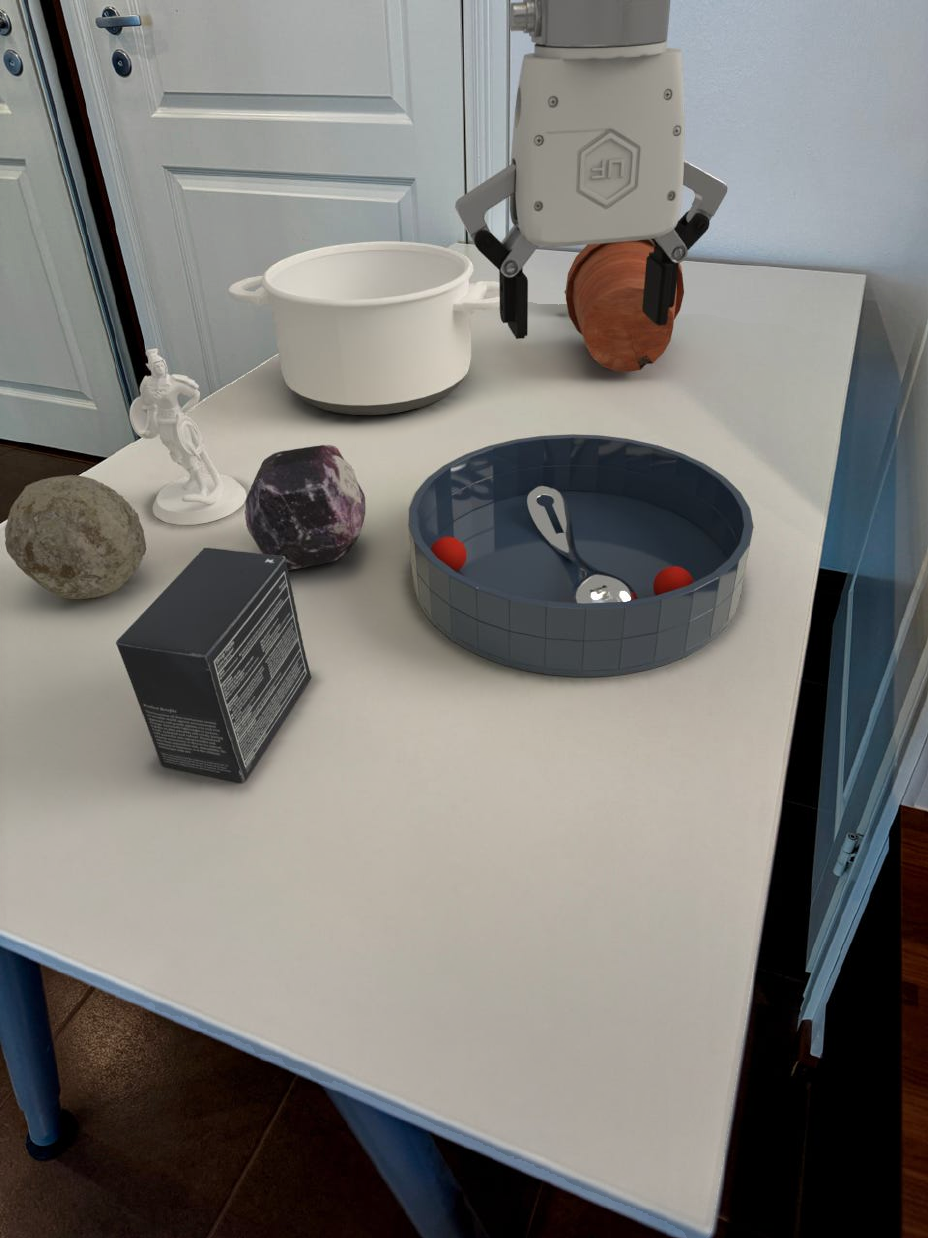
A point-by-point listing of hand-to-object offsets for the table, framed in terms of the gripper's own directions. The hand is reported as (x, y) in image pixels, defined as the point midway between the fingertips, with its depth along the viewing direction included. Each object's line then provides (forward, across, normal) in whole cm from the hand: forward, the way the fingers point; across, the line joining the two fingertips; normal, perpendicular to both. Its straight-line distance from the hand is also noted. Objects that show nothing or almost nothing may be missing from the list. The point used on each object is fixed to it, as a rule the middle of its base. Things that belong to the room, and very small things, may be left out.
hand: (586, 325), depth 60 cm
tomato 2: (+18, +6, -6) cm, 20 cm away
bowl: (+20, 0, 0) cm, 20 cm away
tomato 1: (+18, -10, +2) cm, 21 cm away
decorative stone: (+20, -39, +6) cm, 45 cm away
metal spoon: (+20, 0, 0) cm, 20 cm away
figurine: (+20, -32, +19) cm, 42 cm away
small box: (+20, -27, -12) cm, 36 cm away
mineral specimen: (+20, -21, +8) cm, 30 cm away
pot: (+20, -12, +43) cm, 49 cm away
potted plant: (+20, +20, +53) cm, 60 cm away
